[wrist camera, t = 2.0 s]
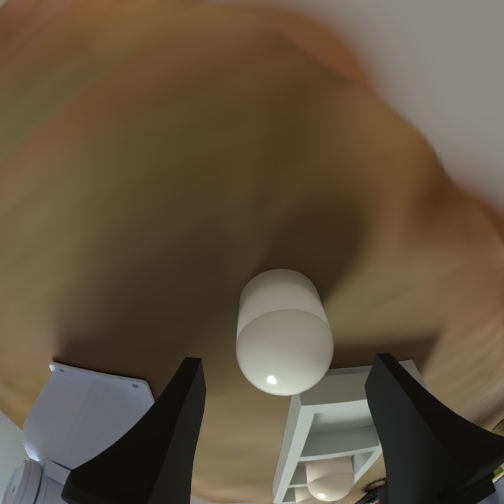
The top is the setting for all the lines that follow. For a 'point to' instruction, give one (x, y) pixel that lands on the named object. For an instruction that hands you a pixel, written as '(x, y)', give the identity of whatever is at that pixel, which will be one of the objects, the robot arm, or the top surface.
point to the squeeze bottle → (499, 431)
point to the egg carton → (328, 438)
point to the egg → (282, 333)
